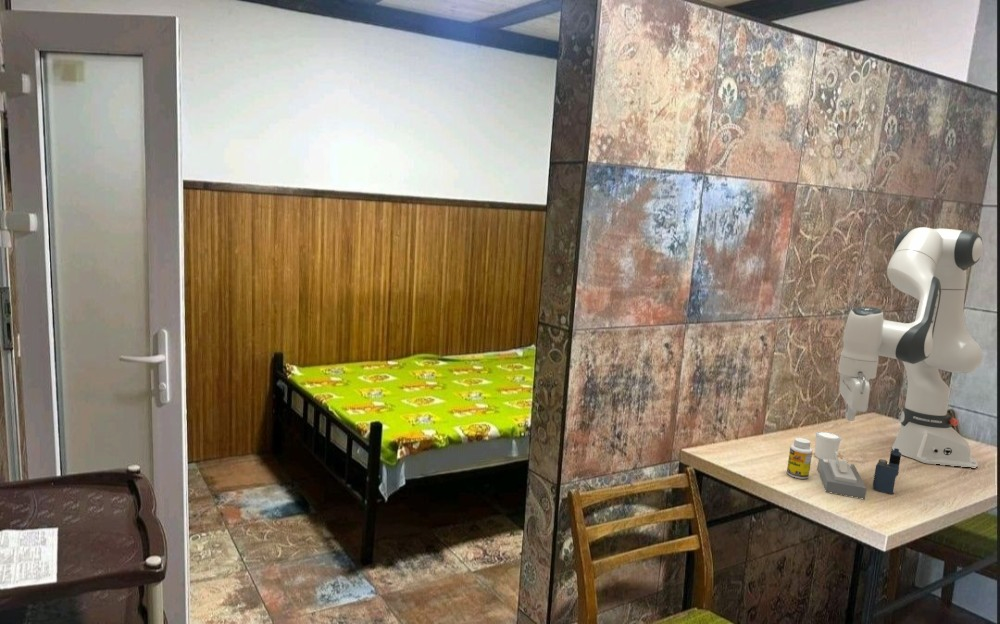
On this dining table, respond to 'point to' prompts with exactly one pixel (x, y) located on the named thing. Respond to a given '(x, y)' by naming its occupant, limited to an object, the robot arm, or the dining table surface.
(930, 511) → the dining table surface
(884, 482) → the vaping device
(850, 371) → the robot arm
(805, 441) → the supplement bottle
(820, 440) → the white cylinder
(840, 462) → the double breaker paddle
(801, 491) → the dining table surface
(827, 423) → the dining table surface
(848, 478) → the panel
